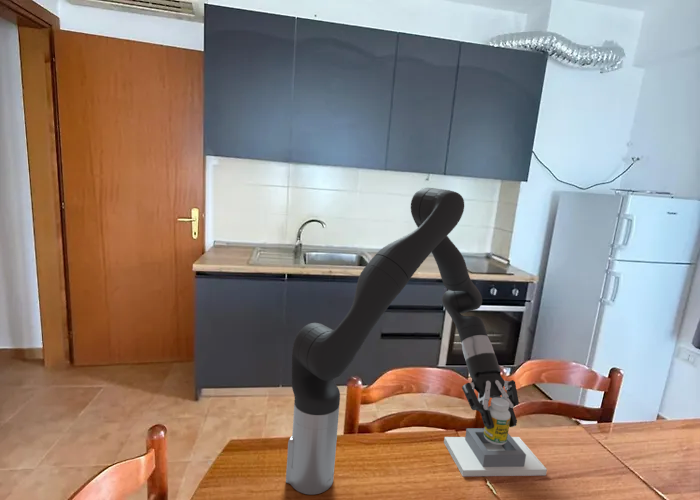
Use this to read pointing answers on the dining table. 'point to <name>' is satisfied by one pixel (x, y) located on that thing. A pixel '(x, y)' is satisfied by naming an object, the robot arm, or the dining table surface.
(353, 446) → the dining table surface
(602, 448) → the dining table surface
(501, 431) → the supplement bottle
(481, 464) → the collar board
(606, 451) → the dining table surface
